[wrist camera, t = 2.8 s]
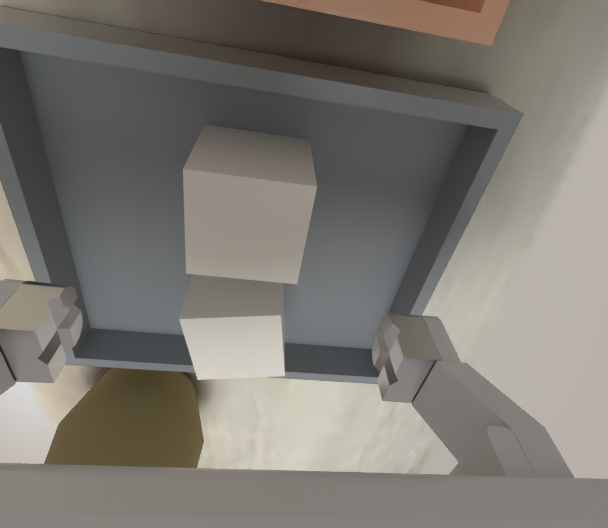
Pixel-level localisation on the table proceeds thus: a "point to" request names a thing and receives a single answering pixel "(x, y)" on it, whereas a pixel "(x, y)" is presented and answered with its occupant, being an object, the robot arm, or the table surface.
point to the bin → (420, 15)
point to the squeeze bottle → (132, 423)
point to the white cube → (247, 204)
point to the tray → (170, 195)
